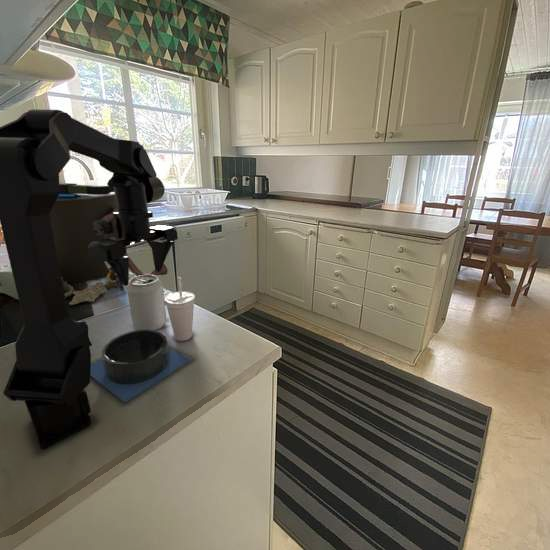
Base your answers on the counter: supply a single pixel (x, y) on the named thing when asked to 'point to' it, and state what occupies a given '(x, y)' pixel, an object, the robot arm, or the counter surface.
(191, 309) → the smoothie
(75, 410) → the robot arm
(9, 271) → the boat shoe
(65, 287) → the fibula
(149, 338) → the pan
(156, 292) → the can
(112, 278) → the figurine
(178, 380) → the counter surface
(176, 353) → the napkin
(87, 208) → the container
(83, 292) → the artifact
